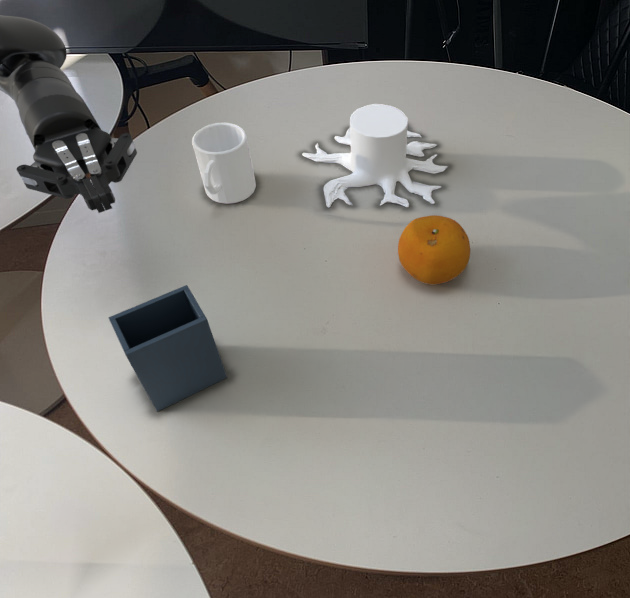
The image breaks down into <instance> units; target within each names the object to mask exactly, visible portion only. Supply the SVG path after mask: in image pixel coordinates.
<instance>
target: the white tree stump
mask: <svg viewBox="0 0 630 598" xmlns="http://www.w3.org/2000/svg"><path fill="white" fill-rule="evenodd" d="M408 127H409V118H408V116H407V115H406V113H405V112H403V110H401V109H400V108H398V107H395V106H393V105H389V104H386V103H384V104H381V103H372V104H366V105H363V106H361V107H358V108H356V110H354V111H353V112H352V113H351V115H350V118H349V128H348V129H347V130H346V132H345V135H344V136H340V135H335V136H334V140H335V142H337V143H338V144H341V145H347V146H350V152H336V153H334V152H333V153H327V152H326V151H324V150H323V149H321V148H320V147H319V143H318V142H317V143H316V144H315V145H314V146H315V150H316V153H310V152H303V153H301V155H302V156H303V157H304V158H307V159H309V160H312V161H314V162H316V163H329V164H339V165H341V166H343V167H344V168H346V169H347V170H349V171H351V173H350V174H348V175H345V176H341V177H337V178H333V179H331V180H329V181H327V182H326V183H325V184H324V186H323V188H322V189H323V194H324V199H325V200H324V201H325V204H326V207H327V208H331V206H332V204H333V203H334V202H335V200H337V199H339V200H343V201H344V202H345V204H347V205H349V206H353V203H352V202H351V200H350V199H349V197H348V195H346V193H345V191H346V190H347V189H349V188H361V187H368V186H373V185H377V186H380V187H381V188H382V191H383V193H384V195H383V199H382V200H381V201H380V204H379V206H382V205H384V204H386V203H392V204H397V205H401V206H403V207H405V208H409V207H410V203H409V201H408V199H406V198H404V197H401V196H397V195H396V194H395V191H396V186H397V182H399V183H400V184H401V185H402V186H403V187H404V188H405V189H406V190H407V191H408V192H409V193H410V194H412V193H414V194H415V195H418V196H420V197H422V198H423V200H425V201H426V202H428V203H429V204H431V205H434V204H436V201H435V200H434V199H433V197H432V192H433V191H434V190H439V189H441V188H442V186H441V185H430V184H425V183H421V182H417V181H414V180H412V179H411V177H410V175H409V172H410V171H411V170H415V171H420V172H425V173H428V174H429V173H430V174H433V175H434V174H438V173H442V172H445V171H446V169H448V167H449V165H438V164H435V163H434V162H433V160H435V158H436V157H437V156H438V154H435V153H434V155H431V156H430V157H429V158H427V159H426V160H423V161H422V160H418V159H413V158H408V157H407V155H410V156H414V157H417V158H418V157H419V158H421V157H425V154H424V152H423V151H424V150H429V149H432V148H435V147H437V146H438V144H437V143H429V142H423V141H421V142H420V141H417V140H413V141H411V142H409V143H408V138H411V137H413V138H422V136H421V134H420V133H418V132H413V131H410V130H409V129H408Z"/></svg>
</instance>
